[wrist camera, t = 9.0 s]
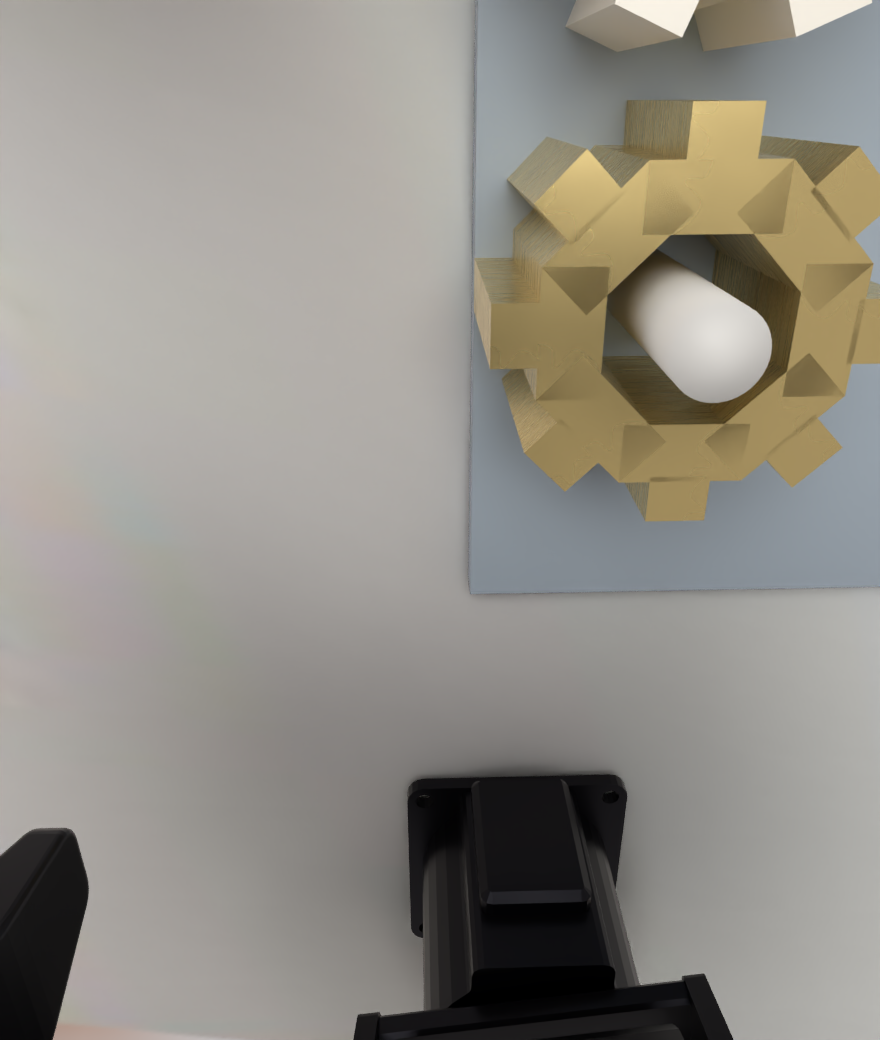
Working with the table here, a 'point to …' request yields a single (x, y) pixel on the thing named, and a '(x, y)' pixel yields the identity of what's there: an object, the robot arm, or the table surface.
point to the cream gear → (702, 20)
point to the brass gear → (737, 270)
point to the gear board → (597, 504)
